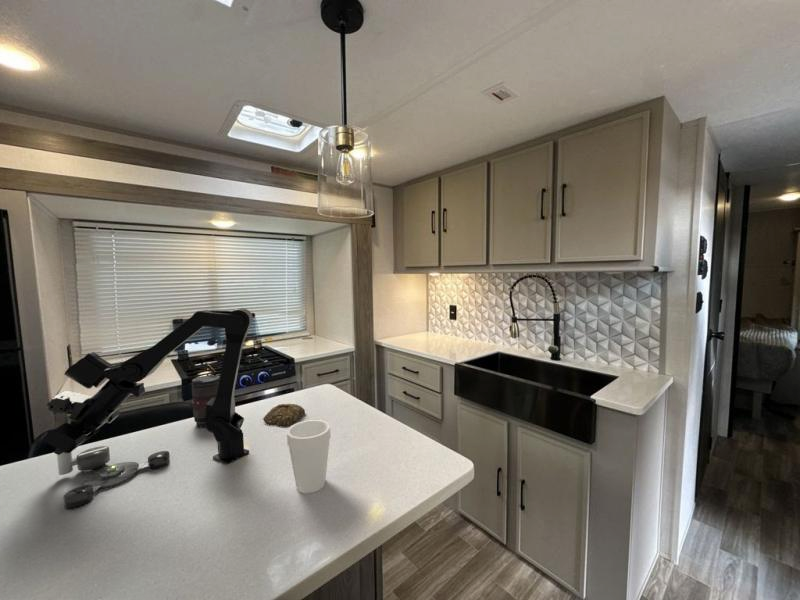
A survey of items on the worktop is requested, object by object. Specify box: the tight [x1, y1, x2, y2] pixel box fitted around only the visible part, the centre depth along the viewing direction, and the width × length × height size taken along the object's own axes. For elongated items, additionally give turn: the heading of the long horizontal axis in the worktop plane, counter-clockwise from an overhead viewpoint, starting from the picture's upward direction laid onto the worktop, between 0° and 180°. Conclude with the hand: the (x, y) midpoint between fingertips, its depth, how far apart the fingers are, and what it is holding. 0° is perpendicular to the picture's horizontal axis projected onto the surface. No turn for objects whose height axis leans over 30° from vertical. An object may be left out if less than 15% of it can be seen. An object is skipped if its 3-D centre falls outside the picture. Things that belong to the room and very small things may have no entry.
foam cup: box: [286, 419, 331, 494], centre depth 74 cm, size 10×9×13 cm
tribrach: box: [63, 450, 171, 511], centre depth 80 cm, size 18×20×3 cm
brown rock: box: [262, 403, 306, 427], centre depth 111 cm, size 13×12×5 cm
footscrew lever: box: [56, 445, 111, 476], centre depth 82 cm, size 9×6×11 cm, turn 133°
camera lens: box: [191, 375, 220, 428], centre depth 108 cm, size 8×8×15 cm
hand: (57, 452), depth 77 cm, fingers closed
